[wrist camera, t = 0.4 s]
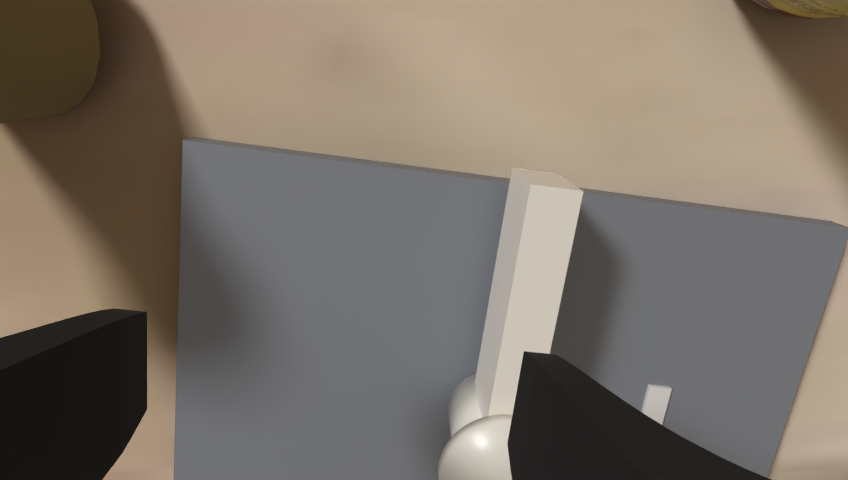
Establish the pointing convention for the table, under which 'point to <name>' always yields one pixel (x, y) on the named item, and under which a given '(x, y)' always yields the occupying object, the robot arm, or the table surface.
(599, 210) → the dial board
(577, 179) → the table surface
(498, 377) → the peg
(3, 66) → the cork
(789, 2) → the sauce bottle
